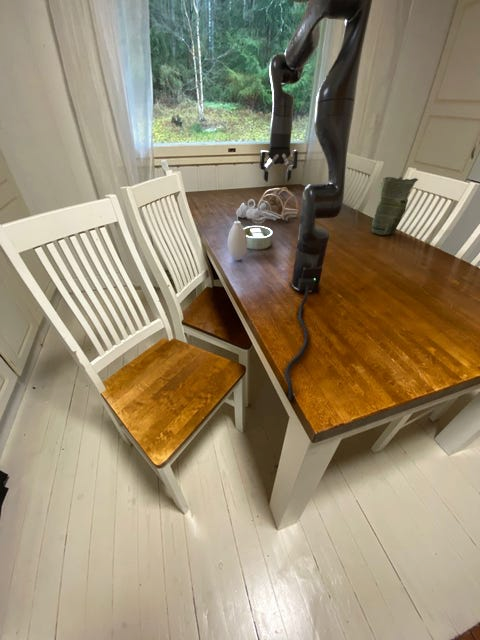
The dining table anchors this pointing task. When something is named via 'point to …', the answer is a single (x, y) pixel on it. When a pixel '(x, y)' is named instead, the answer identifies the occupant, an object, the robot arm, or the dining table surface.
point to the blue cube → (257, 235)
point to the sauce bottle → (237, 241)
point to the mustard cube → (255, 231)
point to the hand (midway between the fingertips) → (276, 181)
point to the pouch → (391, 204)
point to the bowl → (260, 241)
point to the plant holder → (268, 206)
